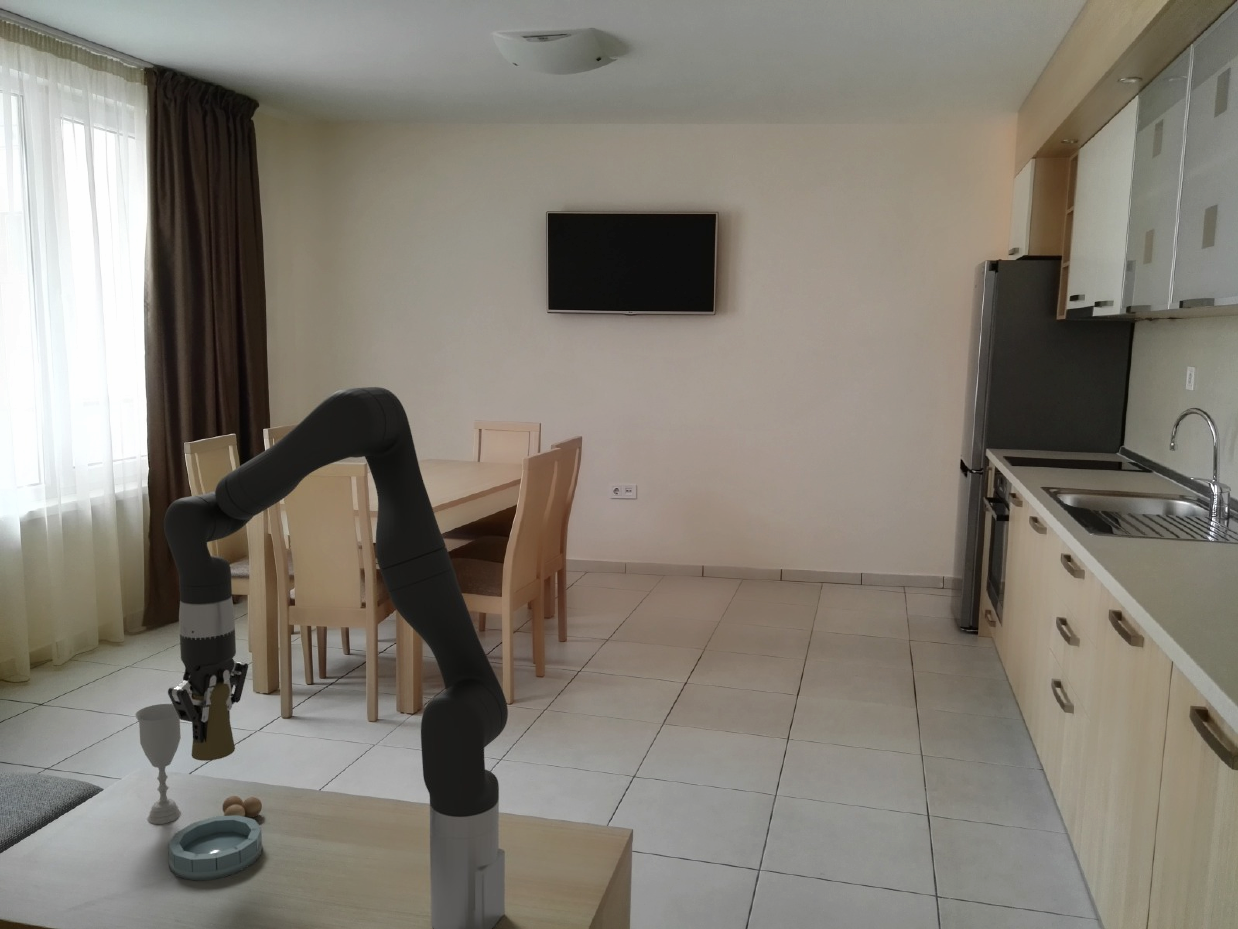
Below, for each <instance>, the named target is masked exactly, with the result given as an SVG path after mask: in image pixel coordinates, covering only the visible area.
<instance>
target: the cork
mask: <svg viewBox="0 0 1238 929" xmlns="http://www.w3.org/2000/svg"><path fill="white" fill-rule="evenodd" d="M229 694H230V688H229V686H228V685H227V684H223V683H221V682H219V683H216V685H215V686H214V689H213V691H212V692H211V696H210V697H209V699H210V702H211V705H210V706H209V714H208V720H207V721H208V725H207V739H206V742H205V739H204V742H203V743H198V742H194V740H193V739H192V746H191V757H192V758H193V759H195V760H197V761H205V762H206V761H216V760H221V759H223V758H226V757H229V756H231V755H232V754H233V753H234V752H235V749H236V746H235V740H234V736H233V731H232V725H231V718H230V719H229V714H228V709H227V704H226V701H227V699H228V698H229ZM193 698H194V699H195V700H200V701H203V700H204V696H198V695H194V694H193ZM197 706H198V712H200V709H201V707H200V706H199V705H197Z"/></svg>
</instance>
